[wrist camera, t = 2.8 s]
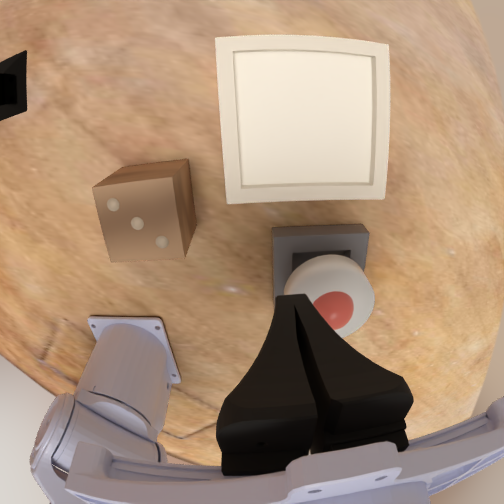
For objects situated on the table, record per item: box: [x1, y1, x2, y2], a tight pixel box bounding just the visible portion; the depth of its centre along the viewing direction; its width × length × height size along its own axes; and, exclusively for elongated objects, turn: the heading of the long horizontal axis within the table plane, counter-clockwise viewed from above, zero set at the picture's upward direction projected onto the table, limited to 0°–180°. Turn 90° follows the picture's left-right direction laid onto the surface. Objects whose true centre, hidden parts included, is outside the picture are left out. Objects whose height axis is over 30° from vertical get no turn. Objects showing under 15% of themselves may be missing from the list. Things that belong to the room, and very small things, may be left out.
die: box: [92, 159, 197, 262], centre depth 19 cm, size 5×5×5 cm
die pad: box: [215, 35, 390, 204], centre depth 18 cm, size 11×11×1 cm
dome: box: [284, 255, 375, 338], centre depth 20 cm, size 6×6×5 cm
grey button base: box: [272, 224, 369, 311], centre depth 23 cm, size 7×7×2 cm
